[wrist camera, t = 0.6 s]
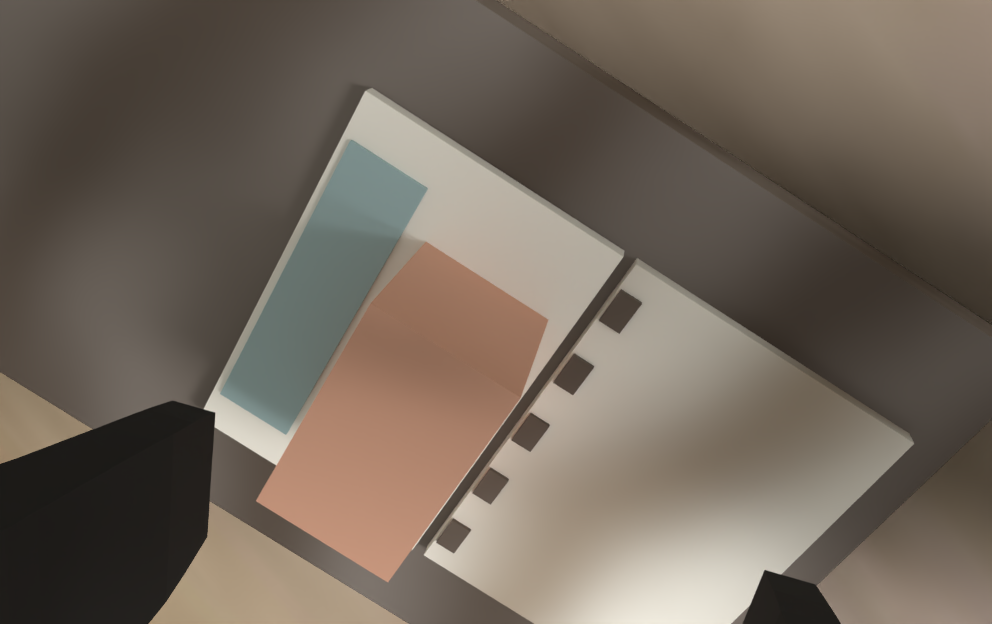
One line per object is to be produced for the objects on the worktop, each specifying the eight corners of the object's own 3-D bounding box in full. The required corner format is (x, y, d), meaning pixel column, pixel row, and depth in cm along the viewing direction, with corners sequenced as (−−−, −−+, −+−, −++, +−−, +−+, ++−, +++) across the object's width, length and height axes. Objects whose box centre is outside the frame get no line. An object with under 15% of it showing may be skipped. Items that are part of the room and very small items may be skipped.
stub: (624, 250, 17) (611, 325, 14) (417, 539, 21) (364, 656, 17) (372, 87, 17) (291, 120, 13) (207, 409, 21) (111, 502, 17)
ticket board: (1014, 340, 18) (1052, 382, 16) (634, 714, 24) (630, 777, 22) (111, -252, 17) (44, -277, 15) (-55, 289, 23) (-118, 317, 21)
